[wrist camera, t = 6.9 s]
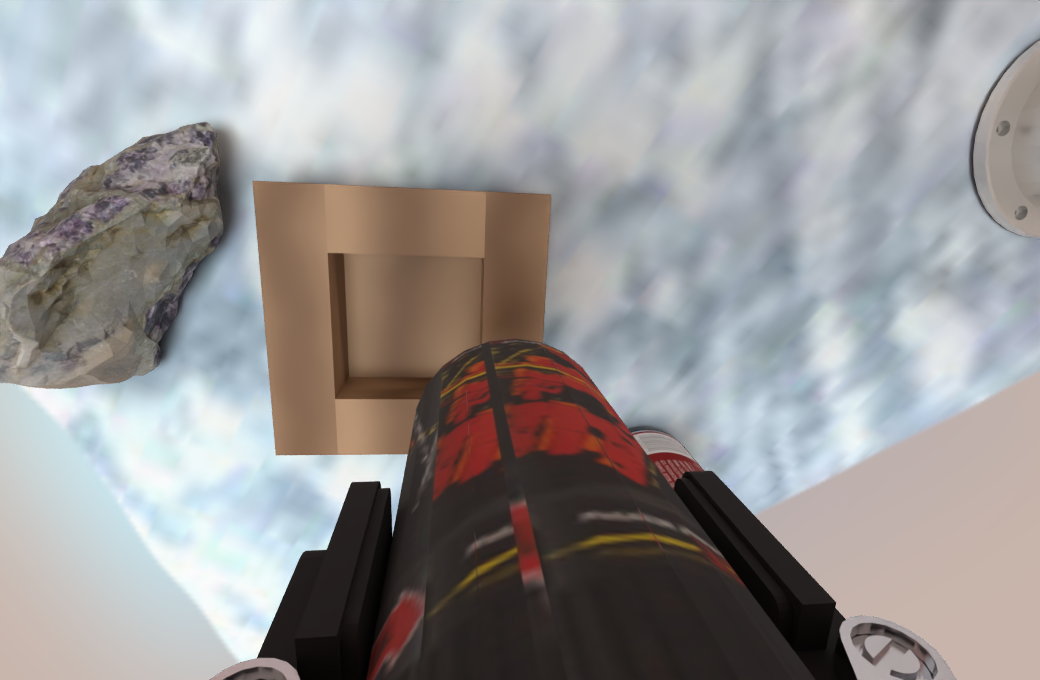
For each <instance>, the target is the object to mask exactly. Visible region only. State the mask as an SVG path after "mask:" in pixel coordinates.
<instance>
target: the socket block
mask: <svg viewBox="0 0 1040 680" xmlns="http://www.w3.org/2000/svg"><path fill="white" fill-rule="evenodd" d="M253 193H254V204H255V216H256V228H257V239H258V251H259V263H260V274H261V286H262V298H263V309H264V321H265V333H266V345H267V356H268V368H269V380H270V391H271V403H272V415H273V426H274V438H275V450H276V455H362V454H408V451H409V446H410V440H411V435H412V429H413V424H414V419H415V413H416V408H417V406H418V403H419V401H420V399H421V397H422V395H423V392H424V390H425V388H426V386H427V384H428V383H429V382H430V381H431V379H432V378H433V377H434V376H435V375H436V373H437V372H438V371H439V370H440V369H441V367H442V366H443V365H445V364H446V363H447V362H449V361H450V360H452V359H453V358H455V357H456V356H457V355H459V354H460V353H462V352H463V351H465V350H467V349H470V348H473V347H475V346H478V345H481V344H483V343H486V342H488V341H497V340H506V339H522V340H529V341H536V342H541V343H543V329H544V311H545V294H546V276H547V259H548V241H549V224H550V206H551V195H549V194H527V193H506V192H484V191H462V190H441V189H419V188H397V187H376V186H354V185H332V184H311V183H289V182H267V181H253Z"/></svg>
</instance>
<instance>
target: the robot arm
mask: <svg viewBox="0 0 1040 680" xmlns="http://www.w3.org/2000/svg"><path fill="white" fill-rule="evenodd" d="M973 164H974V177H975V182H976V186H977V190H978V194H979V196H980V198H981V200H982V202H983V204H984V206H985V208H986V210H987V211H988V212H989V213H990V215H991V216H992V217H993V218H994V220H995V221H996V222H998V223H999V224H1000V225H1002V226H1003V227H1004V228H1006V229H1007V230H1009V231H1011V232H1014V233H1016V234H1019V235H1021V236H1026V237H1032V238H1040V40H1039V41H1037V42H1036V43H1035V44H1034V45H1032V46H1031V47H1030V48H1029V49H1028V50H1026V51H1025V52H1024V53H1023V54H1022V55H1021V56H1019V57H1018V59H1017V60H1016V61H1015V62H1014V63H1013V64H1012V65H1011V67H1010V68H1009V69H1008V70H1007V71H1006V72H1005V73H1004V75H1003V76H1002V78H1001V79H1000V81H999V82H998V84H997V86H996V87H995V89H994V90H993V92H992V93H991V95H990V98H989V100H988V102H987V104H986V106H985V108H984V111H983V113H982V116H981V119H980V122H979V126H978V129H977V133H976V137H975V145H974V153H973ZM674 491H675V492H676V494H677V495H678V496H679V498H680V499H681V500H682V502H683V503H684V504H685V506H686V507H687V508H688V510H689V511H690V512H691V514H692V515H693V516H694V518H695V519H696V520H697V522H698V523H699V524H700V526H701V527H702V528H703V530H704V531H705V532H706V534H707V535H708V536H709V538H710V539H711V541H712V542H713V543H714V545H715V546H716V547H717V549H718V550H719V551H720V553H721V554H722V555H723V557H724V558H725V559H726V561H727V562H728V563H729V565H730V566H731V567H732V569H733V570H734V571H735V573H736V574H737V575H738V577H739V578H740V579H741V581H742V582H743V583H744V585H745V586H746V587H747V589H748V590H749V591H750V593H751V594H752V595H753V597H754V598H755V599H756V601H757V602H758V603H759V605H760V606H761V607H762V609H763V610H764V611H765V613H766V614H767V615H768V617H769V618H770V619H771V621H772V622H773V623H774V625H775V626H776V627H777V629H778V630H779V631H780V633H781V634H782V636H783V637H784V638H785V640H786V641H787V642H788V644H789V645H790V646H791V648H792V649H793V650H794V652H795V653H796V654H797V656H798V657H799V658H800V660H801V661H802V662H803V664H804V665H805V666H806V668H807V669H808V670H809V672H810V673H811V674H812V676H813V677H814V678H815V680H957V679H956V678H955V676H954V675H953V673H952V671H951V669H950V668H949V666H948V665H947V663H946V662H945V660H944V659H943V658H942V657H941V655H940V654H939V653H938V652H937V650H936V649H935V648H933V647H932V646H931V645H930V644H929V643H927V642H926V641H925V640H924V639H923V638H921V637H920V636H918V635H916V634H915V633H913V632H912V631H910V630H908V629H907V628H904V627H902V626H900V625H898V624H896V623H893V622H891V621H888V620H884V619H881V618H877V617H870V616H855V617H850V618H848V619H847V620H846V619H845V618H844V617H843V616H842V615H841V614H840V613H839V611H838V610H837V609H836V608H835V605H836V602H835V601H834V600H833V599H832V598H831V597H830V595H829V594H828V593H827V592H826V591H825V590H824V589H823V588H822V587H821V586H820V585H819V584H818V583H817V582H816V581H815V579H814V578H812V576H811V575H810V574H809V573H808V572H807V571H806V570H805V569H804V568H803V567H802V566H801V565H800V564H799V563H798V562H797V560H796V559H795V558H794V557H793V556H792V555H791V554H790V553H789V552H788V551H787V550H786V549H785V548H784V547H783V546H782V544H781V543H780V542H779V541H778V540H777V539H776V538H775V537H774V536H773V535H772V534H771V533H770V532H769V531H768V530H767V529H766V527H765V526H764V525H763V524H761V522H760V521H759V520H758V519H757V518H756V517H755V516H754V515H753V514H752V513H751V512H750V510H749V509H748V508H747V507H746V506H745V505H744V504H743V503H742V502H741V501H740V500H739V499H738V498H737V497H736V496H735V495H734V493H733V492H732V491H731V490H730V489H729V488H728V487H727V486H726V485H725V484H724V483H723V482H722V481H721V480H720V479H719V478H718V476H717V475H716V474H715V473H713V472H712V471H687V472H685V473H683V475H682V478H678V479H676V481H675V484H674ZM391 542H392V514H391V491H390V488H381V484H380V481H376V482H352V483H351V485H350V488H349V490H348V493H347V496H346V499H345V501H344V504H343V507H342V510H341V512H340V515H339V518H338V521H337V523H336V526H335V529H334V532H333V534H332V537H331V540H330V543H329V545H328V548H327V550H315V551H305V552H304V553H303V554H302V555H301V557H300V559H299V561H298V564H297V566H296V568H295V571H294V573H293V575H292V578H291V580H290V582H289V585H288V587H287V589H286V592H285V594H284V596H283V599H282V601H281V603H280V606H279V608H278V610H277V613H276V615H275V617H274V620H273V622H272V624H271V627H270V629H269V631H268V633H267V636H266V638H265V640H264V643H263V645H262V647H261V650H260V652H259V654H258V657H257V659H252V660H248V661H244V662H240V663H238V664H236V665H234V666H231V667H230V668H227V669H225V670H223V671H222V672H220V673H219V674H217V675H216V676H214V677H213V678H211V679H210V680H366V677H367V671H368V666H369V661H370V655H371V650H372V645H373V639H374V634H375V628H376V623H377V618H378V612H379V607H380V602H381V596H382V591H383V585H384V580H385V575H386V569H387V564H388V558H389V553H390V548H391Z"/></svg>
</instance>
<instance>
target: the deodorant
mask: <svg viewBox="0 0 1040 680" xmlns="http://www.w3.org/2000/svg"><path fill="white" fill-rule="evenodd" d="M366 680H815V678H814V677H813V676H812V674H811V673H810V672H809V670H808V669H807V668H806V666H805V665H804V664H803V662H802V661H801V660H800V658H799V657H798V656H797V654H796V653H795V652H794V650H793V649H792V648H791V646H790V645H789V644H788V642H787V641H786V640H785V638H784V637H783V636H782V634H781V633H780V631H779V630H778V629H777V627H776V626H775V625H774V623H773V622H772V621H771V619H770V618H769V617H768V615H767V614H766V613H765V611H764V610H763V609H762V607H761V606H760V605H759V603H758V602H757V601H756V599H755V598H754V597H753V595H752V594H751V593H750V591H749V590H748V589H747V587H746V586H745V585H744V583H743V582H742V581H741V579H740V578H739V577H738V575H737V574H736V573H735V571H734V570H733V569H732V567H731V566H730V565H729V563H728V562H727V561H726V559H725V558H724V557H723V555H722V554H721V553H720V551H719V550H718V549H717V547H716V546H715V545H714V543H713V542H712V541H711V539H710V538H709V536H708V535H707V534H706V532H705V531H704V530H703V528H702V527H701V526H700V524H699V523H698V522H697V520H696V519H695V518H694V516H693V515H692V514H691V512H690V511H689V510H688V508H687V507H686V506H685V504H684V503H683V502H682V500H681V499H680V498H679V496H678V495H677V494H676V492H675V491H674V490H673V488H672V487H671V486H670V484H669V483H668V482H667V480H666V479H665V478H664V476H663V475H662V474H661V472H660V471H659V470H658V468H657V467H656V466H655V464H654V463H653V462H652V460H651V459H650V458H649V456H648V455H647V454H646V452H645V451H644V450H643V448H642V447H641V446H640V444H639V443H638V442H637V440H636V439H635V437H634V436H633V435H632V433H631V432H630V431H629V429H628V428H627V427H626V425H625V424H624V423H623V421H622V420H621V419H620V417H619V416H618V415H617V413H616V412H615V411H614V409H613V408H612V407H611V405H610V404H609V403H608V401H607V400H606V399H605V397H604V396H603V395H602V393H601V392H600V391H599V389H598V388H597V387H596V385H595V384H594V383H593V381H592V380H591V379H590V377H589V376H588V375H587V373H586V372H585V371H584V369H583V368H582V367H581V366H580V365H579V364H577V363H576V362H575V361H574V360H573V359H571V358H570V357H569V356H568V355H566V354H565V353H564V352H562V351H560V350H557V349H555V348H553V347H550V346H548V345H546V344H543V343H541V342H536V341H529V340H522V339H506V340H497V341H488V342H486V343H483V344H481V345H478V346H475V347H473V348H470V349H467V350H465V351H463V352H462V353H460V354H459V355H457V356H456V357H455V358H453V359H452V360H450V361H449V362H447V363H446V364H445V365H443V366H442V367H441V369H440V370H439V371H438V372H437V373H436V375H435V376H434V377H433V378H432V379H431V381H430V382H429V383H428V384H427V386H426V388H425V390H424V392H423V395H422V397H421V399H420V401H419V403H418V406H417V408H416V413H415V419H414V424H413V429H412V435H411V440H410V446H409V451H408V456H407V462H406V467H405V472H404V478H403V483H402V489H401V494H400V499H399V505H398V510H397V515H396V521H395V526H394V532H393V537H392V542H391V548H390V553H389V558H388V564H387V569H386V575H385V580H384V585H383V591H382V596H381V602H380V607H379V612H378V618H377V623H376V628H375V634H374V639H373V645H372V650H371V655H370V661H369V666H368V671H367V677H366Z"/></svg>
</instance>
